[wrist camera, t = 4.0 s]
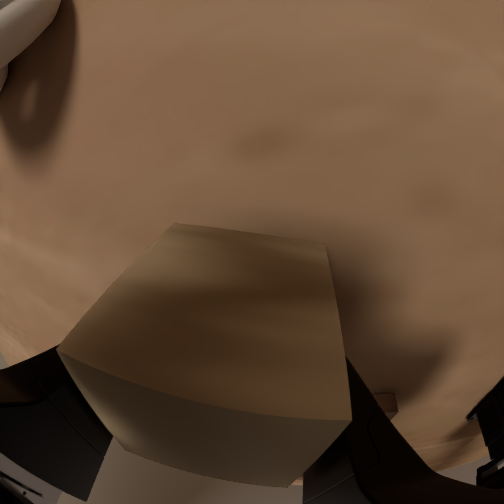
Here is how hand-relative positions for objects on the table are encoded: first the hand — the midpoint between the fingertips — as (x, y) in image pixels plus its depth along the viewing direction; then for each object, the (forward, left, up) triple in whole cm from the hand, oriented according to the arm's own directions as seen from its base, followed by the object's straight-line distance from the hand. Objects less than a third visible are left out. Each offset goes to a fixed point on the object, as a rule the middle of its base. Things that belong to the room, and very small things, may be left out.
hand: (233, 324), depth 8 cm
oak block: (0, 0, -2) cm, 2 cm away
